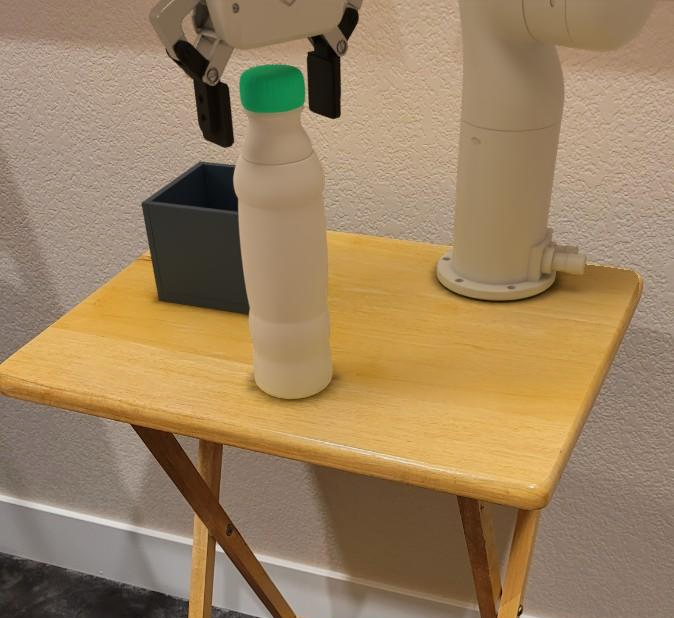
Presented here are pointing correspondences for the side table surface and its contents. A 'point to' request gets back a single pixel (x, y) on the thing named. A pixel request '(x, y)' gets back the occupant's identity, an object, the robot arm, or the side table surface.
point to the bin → (197, 239)
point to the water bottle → (283, 236)
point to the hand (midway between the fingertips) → (273, 128)
